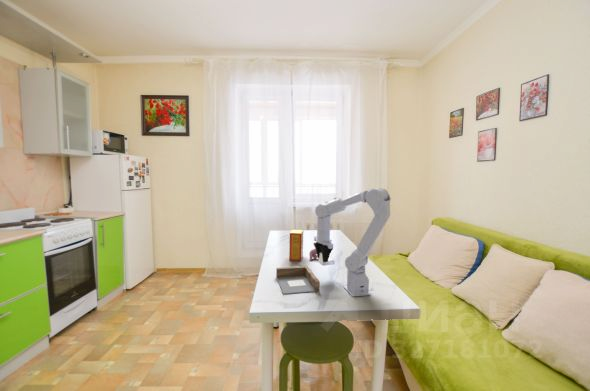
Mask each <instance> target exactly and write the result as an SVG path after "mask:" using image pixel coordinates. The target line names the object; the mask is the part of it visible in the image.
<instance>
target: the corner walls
mask: <svg viewBox="0 0 590 391" xmlns="http://www.w3.org/2000/svg"><path fill="white" fill-rule="evenodd" d="M293 276H306V278H307V279H308V281H309V282H310V284H311V285H312V287H313V288H314V290H315V292H314V293H320V280H319V278H318V277H317V276H316V275H315V274H314V272H313V271H312V270H311V269H310V267H309V266H308V265H303V266H302V265H301V266H300V265H299V266H287V267H276V275H275V277H276V279H277V278H279V277H293Z"/></svg>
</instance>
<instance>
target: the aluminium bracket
mask: <svg viewBox="0 0 590 391" xmlns="http://www.w3.org/2000/svg"><path fill="white" fill-rule="evenodd" d="M335 261H336V260H335V259H334V258H332V257H330V256H329V259H328V262H323V259H322V252H319V259H318V263H319V264H320V265H321V266H323V267H324V266H330V265H331V266H333V265H336V262H335Z"/></svg>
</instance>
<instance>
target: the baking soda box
mask: <svg viewBox="0 0 590 391" xmlns="http://www.w3.org/2000/svg"><path fill="white" fill-rule="evenodd" d="M303 250H304V230H303V229H291V231H290V232H289V256H288V258H289V259H288V260H289V261H291V262H292V261H293V262H301V261H302V259H303V254H304V251H303Z"/></svg>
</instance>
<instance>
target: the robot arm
mask: <svg viewBox="0 0 590 391" xmlns="http://www.w3.org/2000/svg"><path fill="white" fill-rule="evenodd" d="M391 199H392V198H391V196H390V193H389V192H388V190H386V189H385V188H382V187H381V188H376V189H375V188H371V189H368V190H364V191H359V192H358V193H356V194H353V195H350V196H349V197H346V198H341V197H339V198H338V197H334V198H333V200H330V201H325V202H324V203H323V204H318V205H317V206H316V207H315V209H314V210H315V212H314V213H315V215H316V217H317V221H316V222H317V225H316V229H317V230H316V236H313V241H315V242H313V246H314V249H316V252H317V254H316V255H317V259H318V260H319V252H322V259H323V262H328V259H329V257H330V255H331V253H332V251H333V250H334V243H333V242H332V241H333V240H332V239H331V218H332V217H331V216H333V215H334V214H337V213H341V212H343V211H344V212H345V210H346V208H347V207H348V206H351V205H353V204H357V203H360V202H362V203H367V205H368V206H369V207H370V208H371V210H372V211H373V214H374V216H373V218H372V220H371V222H370V223H369V225H368V227H367V229H366V230H365V232H364V234H363V236H362V237H361V239H360V241H359V243H358V245H357V247H355V249H354V250H353V251H352V252H351V254H350V255H349V256H347V257H346V258H345V260H344V266H345V268H346V269H347V272H346V274H347V275H346V278H347V279H346V285H343V286H342V287H343V288H344V289H345V291H347V293H348V294H350V296H351V297H361V296H371V293H370V292H369V288H370V279H369V277H368V276H367V274H366V265H367V264H368V261H369V255H370V251H371V250H372V248H373V246H374V244H375V243H376V241H377V239H378V238H379V236H380V234H381V232H382V231H383V229H384V227H385V225H386V223H387V222H388V221H389V219H390V216H391Z"/></svg>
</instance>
